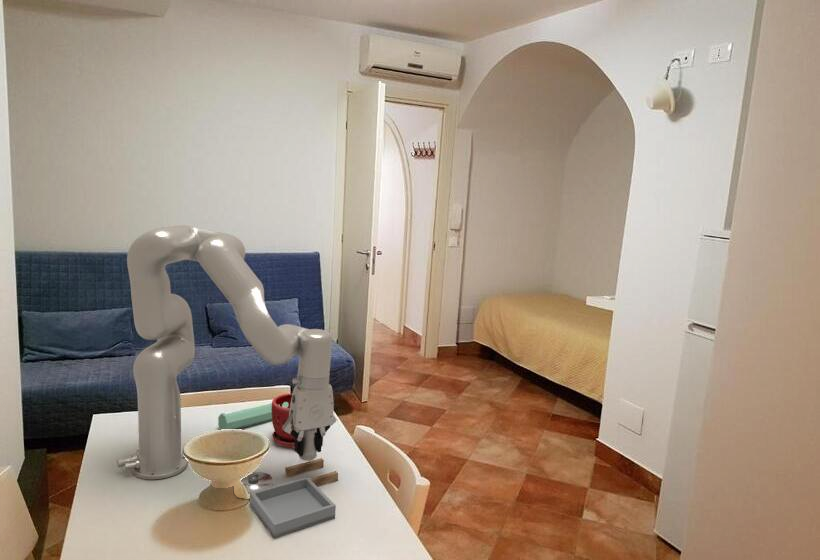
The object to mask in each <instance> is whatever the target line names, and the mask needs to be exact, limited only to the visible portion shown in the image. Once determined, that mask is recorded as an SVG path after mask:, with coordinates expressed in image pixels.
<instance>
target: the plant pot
mask: <svg viewBox="0 0 820 560" xmlns="http://www.w3.org/2000/svg"><path fill="white" fill-rule="evenodd" d="M292 394H293V392H292V393H284V394H279V395H277V396H275V397H274V398H273V399H272V401H271V403H272V409H271V413H272V420H271V421H272V426H273V430H274V431H273V432H272V433H271V434H272V435H271V439H272V440H273V441H274V443H276V444H277V445H279V446H281V447H285V448H294V443H295V438H294V437H293V436H292V435H291V434H289V433H287V432H285V431H284V430H283V429H282V427H283V425H284V424H285V422H286V421H287V419H288V418H289V411H290V403H291V398H292ZM284 402H288V404H289V405H288V407H287V408H284V407H282V404H283V403H284ZM279 404H280V406H279ZM291 428H293V429H295V428H294V426H293V425H292V426H291ZM304 434H305V433H304ZM304 434H303V438H302V439H303V440H304Z"/></svg>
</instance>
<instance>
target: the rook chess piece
mask: <svg viewBox="0 0 820 560" xmlns="http://www.w3.org/2000/svg"><path fill="white" fill-rule="evenodd" d="M315 432H316V428H315V429H310V430H304V433H305V434H304V451H303V456H299V455H298V457H299V459H300V460H302V461H305V462H308V461H312V460H316V458H317V456H318V454H317V453H318V452H317V450H316V448H315V446H314V437H315V435H314V433H315Z"/></svg>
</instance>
